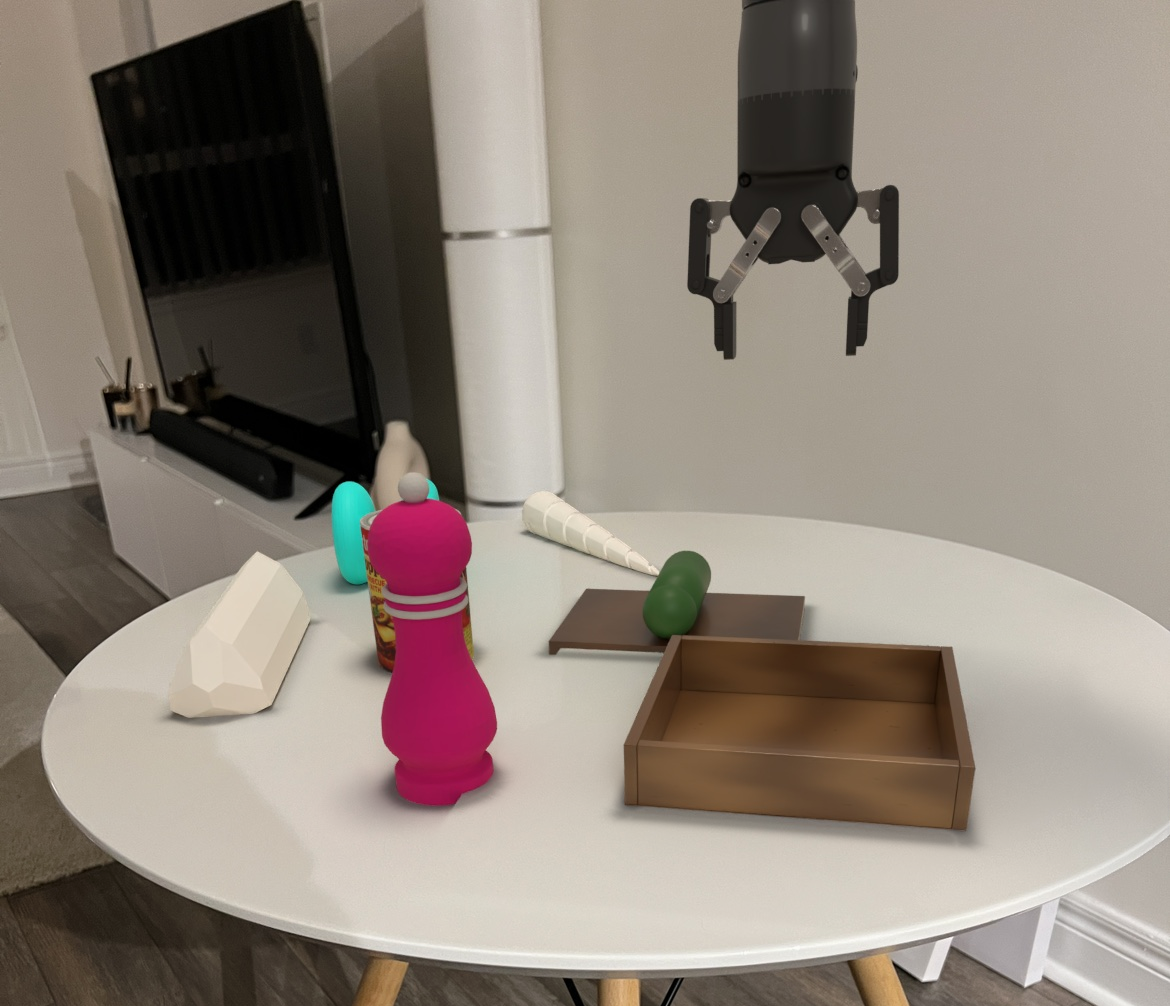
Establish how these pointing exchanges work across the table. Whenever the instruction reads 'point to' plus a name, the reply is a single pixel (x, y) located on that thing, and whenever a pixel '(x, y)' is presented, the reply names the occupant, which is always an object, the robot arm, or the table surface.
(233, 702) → the crystal
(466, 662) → the pepper mill
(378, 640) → the canned food
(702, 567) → the cucumber
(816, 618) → the table surface
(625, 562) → the unicorn horn
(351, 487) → the donuts
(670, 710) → the wooden tray
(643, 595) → the cutting board
